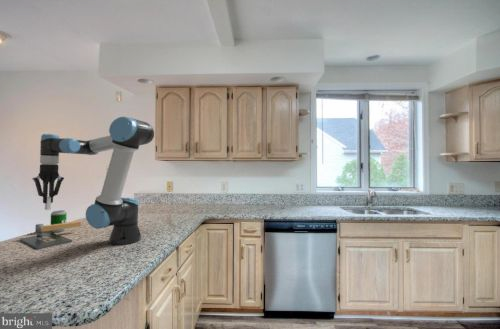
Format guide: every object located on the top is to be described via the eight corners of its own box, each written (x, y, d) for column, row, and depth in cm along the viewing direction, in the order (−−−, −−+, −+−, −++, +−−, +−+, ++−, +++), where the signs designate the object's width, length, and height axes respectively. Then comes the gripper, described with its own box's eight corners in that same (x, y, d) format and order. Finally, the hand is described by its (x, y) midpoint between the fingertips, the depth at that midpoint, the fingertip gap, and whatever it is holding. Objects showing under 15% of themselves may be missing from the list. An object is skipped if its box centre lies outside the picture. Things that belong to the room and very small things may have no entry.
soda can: (57, 233, 142) (57, 212, 142) (47, 232, 144) (47, 212, 144) (69, 230, 150) (69, 210, 150) (59, 229, 151) (59, 209, 151)
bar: (79, 225, 146) (79, 219, 146) (80, 226, 144) (80, 220, 144) (35, 231, 132) (35, 224, 132) (35, 233, 130) (35, 225, 130)
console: (71, 241, 127) (72, 235, 127) (37, 249, 115) (38, 242, 115) (52, 234, 139) (52, 229, 139) (20, 240, 127) (20, 234, 127)
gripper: (60, 164, 134) (59, 207, 134) (30, 163, 123) (28, 210, 123) (67, 164, 130) (65, 208, 130) (36, 163, 119) (34, 212, 119)
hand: (47, 209), depth 126 cm, fingers closed
